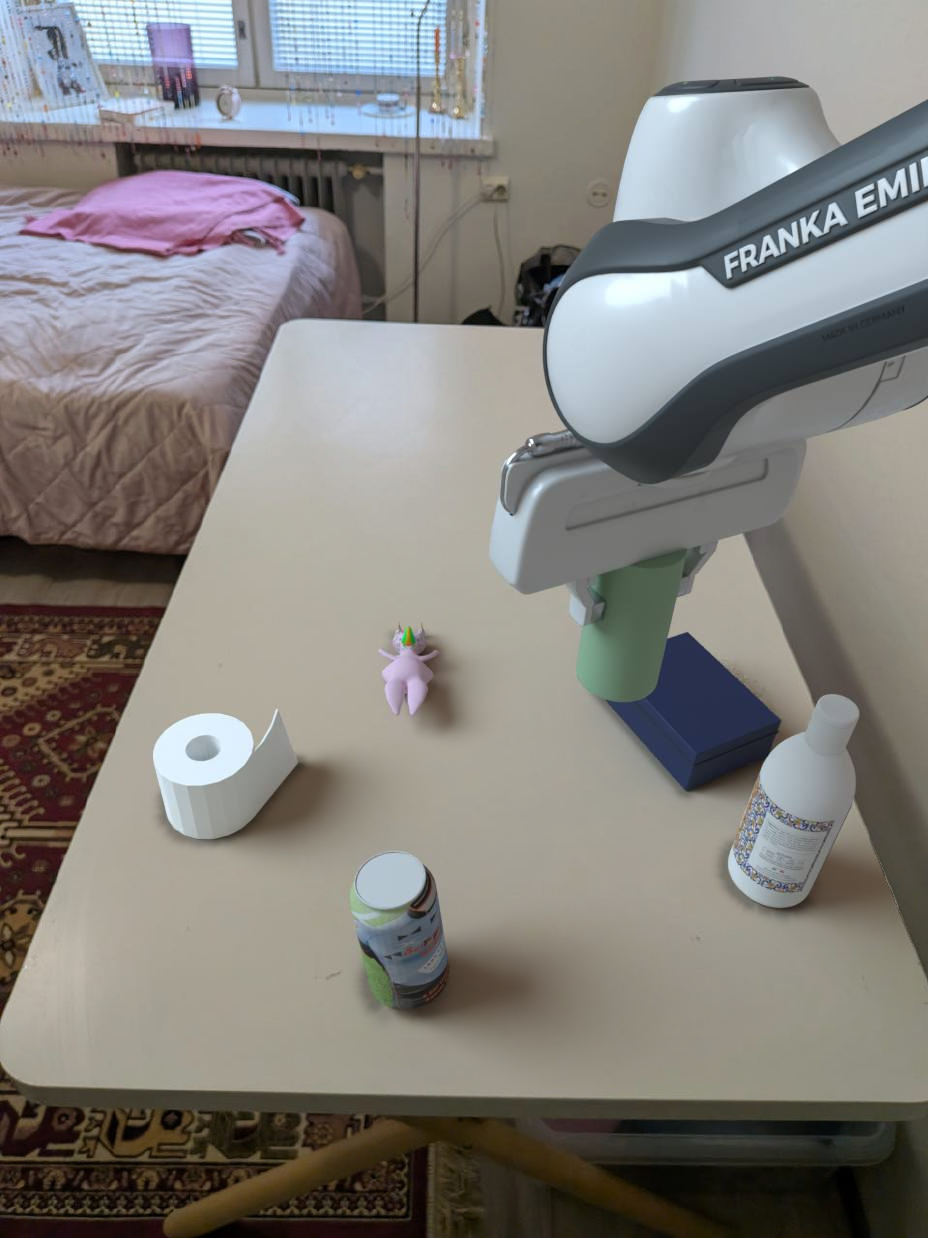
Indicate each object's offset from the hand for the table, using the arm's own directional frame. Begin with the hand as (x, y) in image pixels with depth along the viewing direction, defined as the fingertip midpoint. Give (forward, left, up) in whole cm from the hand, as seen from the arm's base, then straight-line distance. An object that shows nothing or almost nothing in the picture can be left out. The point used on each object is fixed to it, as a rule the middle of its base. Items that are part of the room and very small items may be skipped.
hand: (630, 604), depth 60 cm
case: (+10, -19, -29) cm, 35 cm away
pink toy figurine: (+27, +3, -29) cm, 39 cm away
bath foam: (-8, -14, -29) cm, 33 cm away
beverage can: (-2, +17, -29) cm, 34 cm away
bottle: (0, 0, -6) cm, 6 cm away
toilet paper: (+20, +23, -29) cm, 42 cm away
